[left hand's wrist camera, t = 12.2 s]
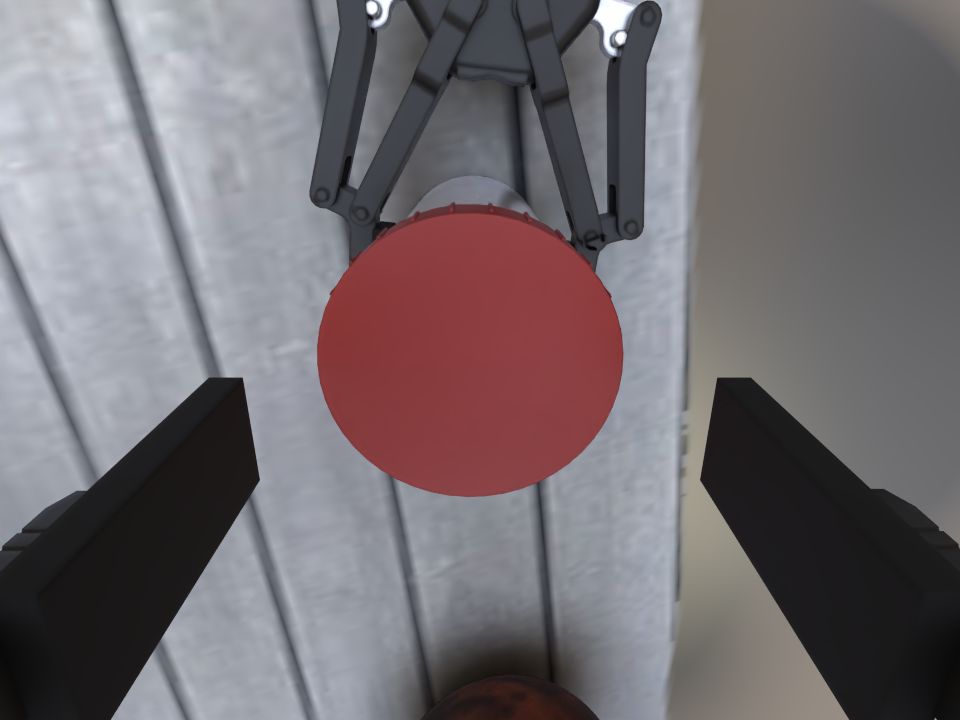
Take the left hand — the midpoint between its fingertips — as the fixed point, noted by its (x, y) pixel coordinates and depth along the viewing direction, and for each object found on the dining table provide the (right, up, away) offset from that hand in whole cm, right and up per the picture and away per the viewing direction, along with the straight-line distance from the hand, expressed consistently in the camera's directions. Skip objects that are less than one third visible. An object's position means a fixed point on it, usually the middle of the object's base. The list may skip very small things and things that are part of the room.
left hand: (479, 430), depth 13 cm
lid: (0, +1, +4) cm, 4 cm away
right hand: (-1, +2, +18) cm, 18 cm away
